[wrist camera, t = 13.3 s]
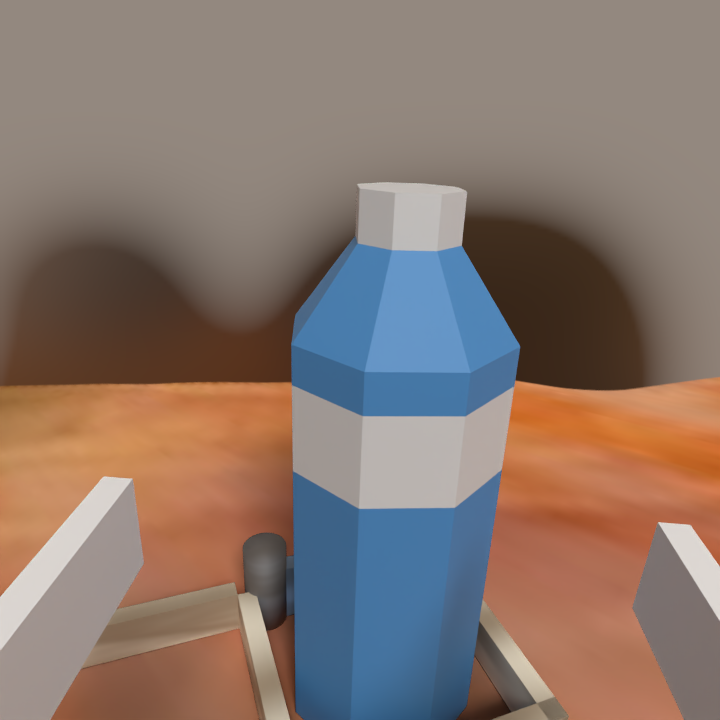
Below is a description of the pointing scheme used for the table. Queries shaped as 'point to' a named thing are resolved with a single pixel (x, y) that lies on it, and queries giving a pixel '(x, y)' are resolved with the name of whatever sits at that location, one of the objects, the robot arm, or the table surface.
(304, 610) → the water bottle
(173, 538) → the table surface
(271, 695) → the frame
